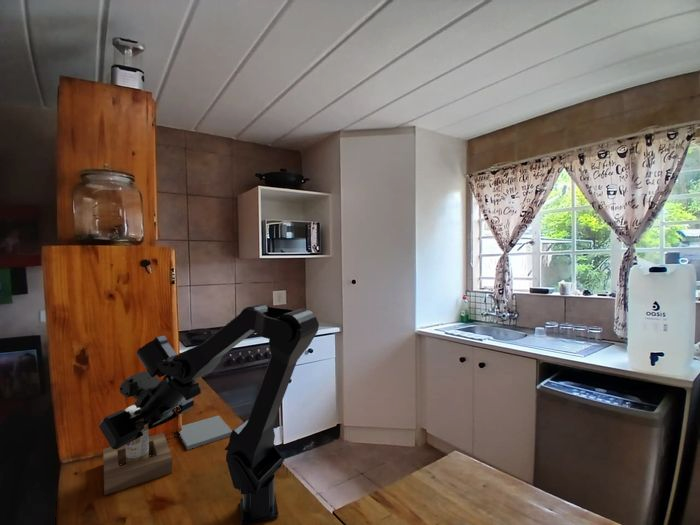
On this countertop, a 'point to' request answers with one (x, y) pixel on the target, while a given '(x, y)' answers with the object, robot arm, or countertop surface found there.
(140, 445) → the sprinkles bottle
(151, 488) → the countertop surface
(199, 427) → the slate mat
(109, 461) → the bottle holder
